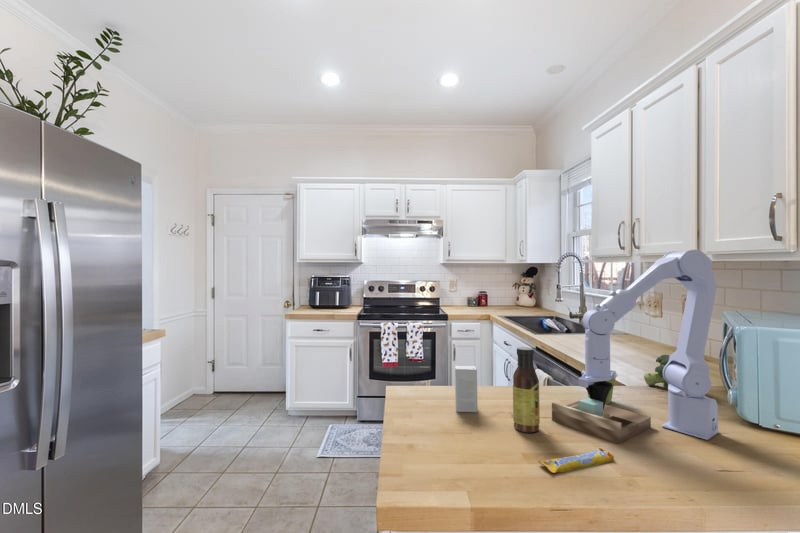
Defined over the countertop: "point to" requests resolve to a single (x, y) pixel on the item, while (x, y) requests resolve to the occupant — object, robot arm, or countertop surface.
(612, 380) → the plant pot
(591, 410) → the block
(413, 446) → the countertop surface
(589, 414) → the tray
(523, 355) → the sauce bottle
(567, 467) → the candy bar
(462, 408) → the skincare box
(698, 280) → the robot arm
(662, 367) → the vegetable
